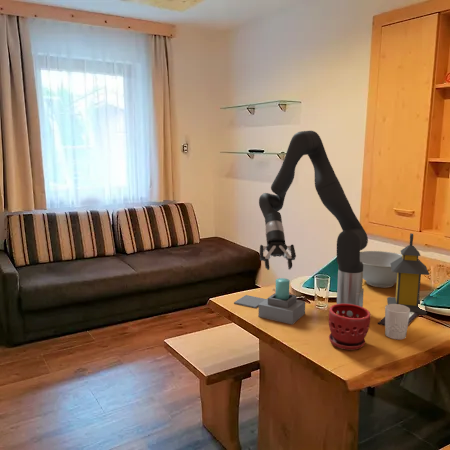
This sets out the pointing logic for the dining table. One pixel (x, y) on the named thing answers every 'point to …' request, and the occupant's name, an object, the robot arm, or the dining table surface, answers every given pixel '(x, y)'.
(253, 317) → the dining table surface
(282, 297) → the teal cylindrical peg
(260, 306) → the gray socket block
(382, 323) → the chocolate bar
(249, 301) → the mat
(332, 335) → the plant pot
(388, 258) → the decorative bowl
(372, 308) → the dining table surface
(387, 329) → the white cup
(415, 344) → the dining table surface
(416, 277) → the lantern
